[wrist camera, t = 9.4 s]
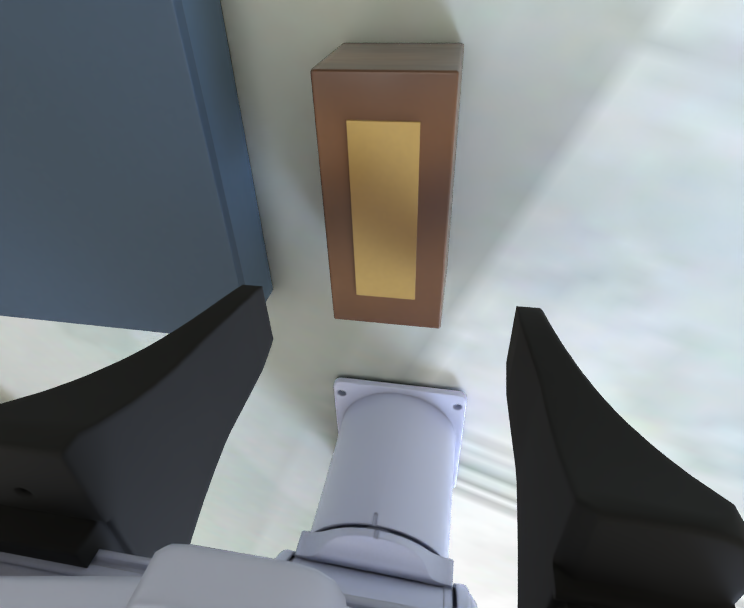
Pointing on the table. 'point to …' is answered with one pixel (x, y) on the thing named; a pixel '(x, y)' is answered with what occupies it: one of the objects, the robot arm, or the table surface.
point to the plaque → (388, 176)
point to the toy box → (122, 164)
